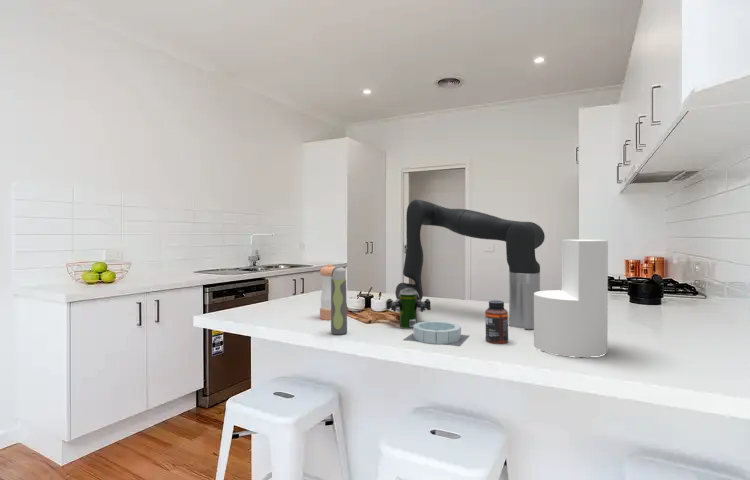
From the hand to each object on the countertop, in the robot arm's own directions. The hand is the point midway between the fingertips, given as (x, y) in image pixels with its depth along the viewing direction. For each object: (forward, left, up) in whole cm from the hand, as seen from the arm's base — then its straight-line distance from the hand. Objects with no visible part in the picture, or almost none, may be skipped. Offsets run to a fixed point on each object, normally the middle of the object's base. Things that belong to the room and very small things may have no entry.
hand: (408, 308), depth 130 cm
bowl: (-11, +7, -6) cm, 15 cm away
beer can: (+1, -2, -7) cm, 7 cm away
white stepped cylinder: (-45, +2, -7) cm, 46 cm away
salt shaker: (+32, -6, -7) cm, 33 cm away
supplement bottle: (-27, +4, -7) cm, 29 cm away
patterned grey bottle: (+18, +12, -7) cm, 23 cm away
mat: (-11, +7, -7) cm, 15 cm away
